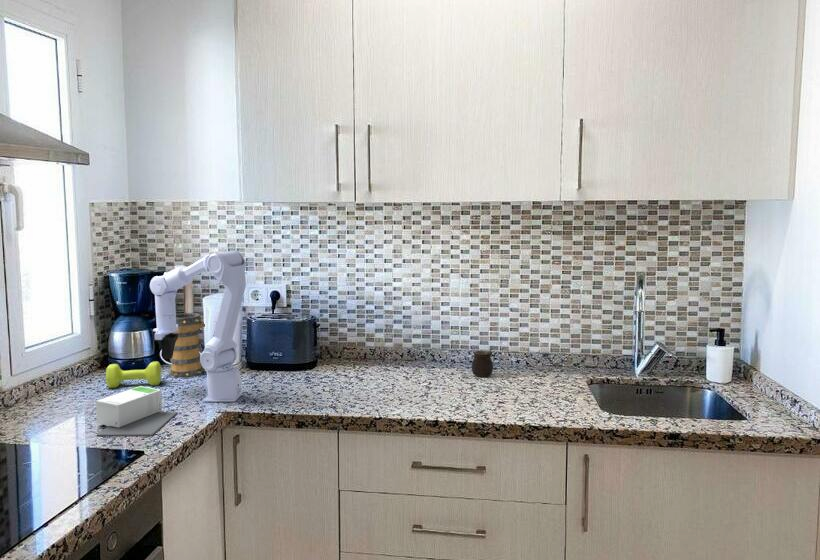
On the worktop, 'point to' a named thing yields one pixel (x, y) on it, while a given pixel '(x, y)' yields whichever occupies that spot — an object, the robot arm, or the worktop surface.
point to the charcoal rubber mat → (140, 426)
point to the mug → (187, 346)
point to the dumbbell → (133, 374)
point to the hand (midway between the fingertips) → (168, 358)
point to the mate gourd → (482, 363)
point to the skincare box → (128, 406)
